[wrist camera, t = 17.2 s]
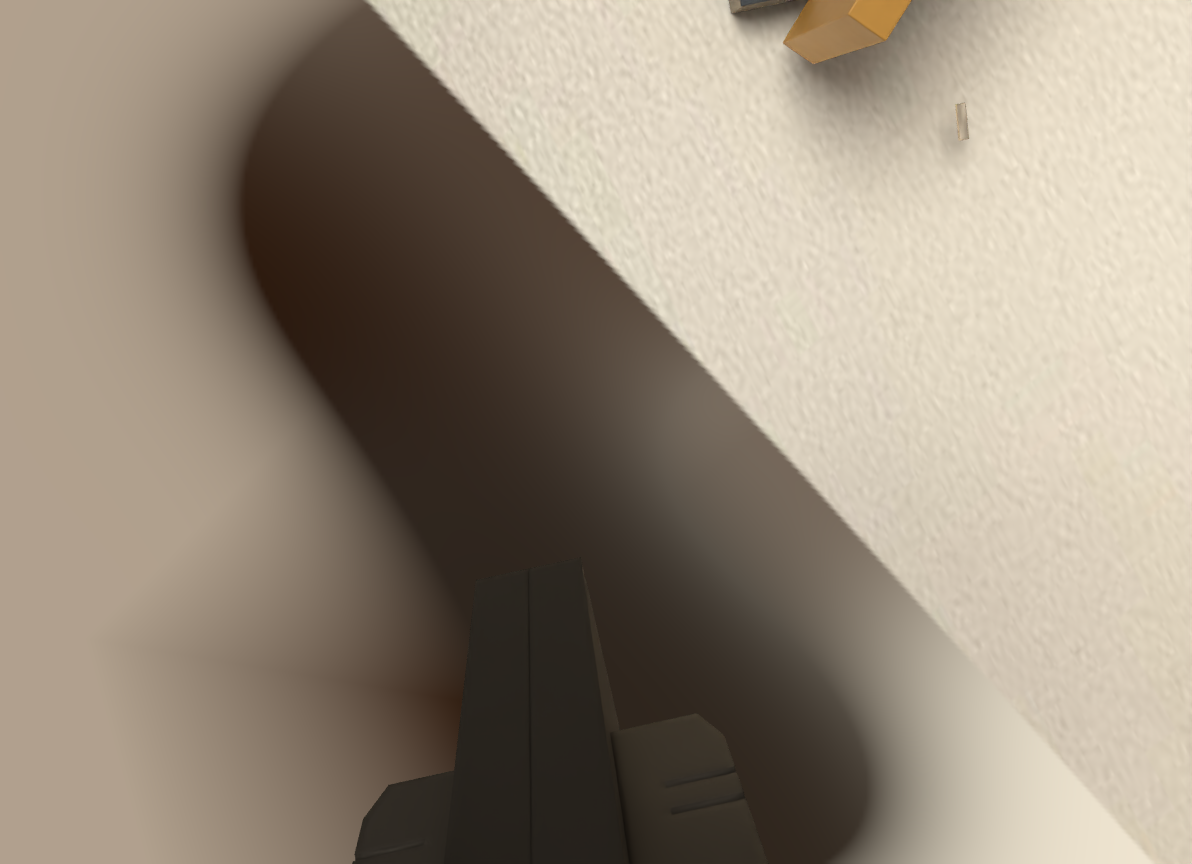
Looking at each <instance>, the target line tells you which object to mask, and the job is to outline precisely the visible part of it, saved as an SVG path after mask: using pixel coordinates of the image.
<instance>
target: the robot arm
mask: <svg viewBox="0 0 1192 864" xmlns="http://www.w3.org/2000/svg"><path fill="white" fill-rule="evenodd" d="M352 864H768V861H767V858H766V855H765V852H764V850H763V847H762V844H761V841H760V838H759V835H758V832H757V829H756V826H755V824H754V821H753V818H752V815H751V812H750V809H749V806H748V803H747V800H746V799H745V796H744V792H743V789H742V786H741V783H740V780H739V777H738V774H737V772H736V770H735V766H734V763H733V760H732V757H731V754H730V752H729V748H728V745H727V742H726V739H725V737H724V735H723V734H722V733H720V732H719V731H718V730H717V729H715V728H714V727H713V726H712V725H710V724H709V723H708V722H707V721H706V720H705V719H703V718H702V717H701V716H700V715H698V714H697V713H696V714H692V715H687V716H683V717H678V718H674V719H669V720H665V721H660V722H656V723H652V724H647V725H642V726H638V727H633V728H629V729H624V730H620V729H619V723H618V719H617V714H616V710H615V706H614V701H613V697H612V692H611V688H610V684H609V679H608V675H607V670H606V666H605V662H604V657H603V653H602V648H601V644H600V640H599V635H598V631H597V626H596V622H595V618H594V613H593V609H592V605H591V600H590V596H589V591H588V587H587V583H586V578H585V574H584V569H583V565H582V561H581V558H575V559H571V560H566V561H562V562H557V563H553V564H548V565H544V566H539V567H534V568H530V569H525V570H521V571H516V572H512V573H507V574H503V575H498V576H494V577H489V578H484V579H480V580H476V585H475V594H474V603H473V612H472V620H471V629H470V639H469V647H468V655H467V664H466V673H465V682H464V691H463V699H462V708H461V717H460V727H459V735H458V744H457V752H456V761H455V770H454V771H450V772H445V773H441V774H436V775H432V776H427V777H423V778H418V779H414V780H409V781H405V782H400V783H396V784H391V785H388V787H387V788H386V790H385V791H384V792H383V793H382V795H381V796H380V797H379V799H378V800H377V801H376V803H375V804H374V805H373V807H372V808H371V809H370V811H369V812H368V813H367V815H366V816H365V817H364V819H363V822H362V826H361V830H360V834H359V838H358V842H357V847H356V851H355V861H353V863H352Z"/></svg>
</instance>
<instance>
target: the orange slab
mask: <svg viewBox="0 0 1192 864" xmlns="http://www.w3.org/2000/svg"><path fill="white" fill-rule="evenodd" d="M911 1H912V0H808V2H807V3H806V5H805V7H804V8H803V10H802V12H801V13H800V15H799V16H798V18H797V20H796V21H795V23H794V25H793V26H792V28H791V30H790V31H789V33H788V35H787V36H786V38H785V40H784V41H783V44H785V45H786V46H787V47H789V48H790V49H792V50H793V51H795V52H796V53H798V54H799V55H801V56H802V57H804V58H805V59H806V60H808V61H809V62H811V63H812V64H815V63H819V62H822V61H825V60H828V59H831V58H834V57H837V56H840V55H843V54H847V53H850V52H853V51H856V50H859V49H862V48H865V47H868V46H871V45H875V44H878V43H881V42H884V41H886V40H887V39H888V37H889V35H890V34H891V32H892V31H893V29H894V28H895V26H896V24H897V23H898V21H899V20H900V18H901V16H902V15H903V13H904V12H905V10H906V8H907V7H908V5H909V4H910V2H911Z"/></svg>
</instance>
